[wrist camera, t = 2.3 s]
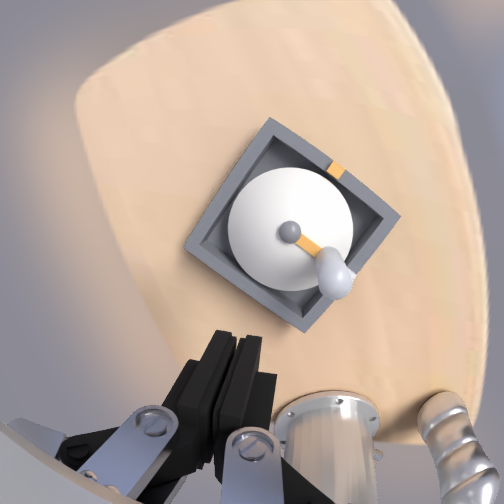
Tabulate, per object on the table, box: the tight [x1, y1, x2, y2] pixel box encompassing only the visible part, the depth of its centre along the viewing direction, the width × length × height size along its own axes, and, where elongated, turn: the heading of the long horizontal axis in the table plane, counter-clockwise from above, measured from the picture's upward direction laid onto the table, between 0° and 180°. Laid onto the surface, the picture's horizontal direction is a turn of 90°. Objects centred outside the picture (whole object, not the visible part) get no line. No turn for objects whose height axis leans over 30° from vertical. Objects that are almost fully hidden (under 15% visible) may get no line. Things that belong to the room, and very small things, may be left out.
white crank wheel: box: [228, 168, 353, 300], centre depth 19 cm, size 9×9×7 cm
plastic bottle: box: [417, 391, 500, 504], centre depth 16 cm, size 6×7×20 cm
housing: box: [183, 117, 401, 333], centre depth 22 cm, size 12×12×4 cm
